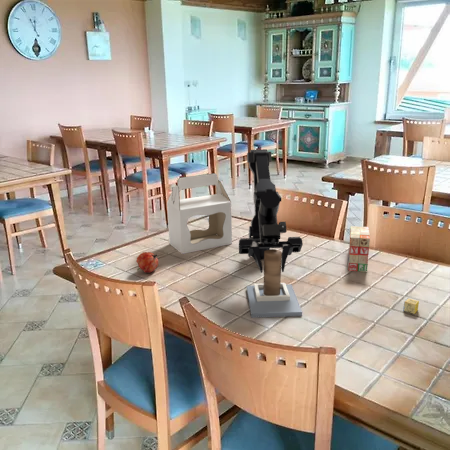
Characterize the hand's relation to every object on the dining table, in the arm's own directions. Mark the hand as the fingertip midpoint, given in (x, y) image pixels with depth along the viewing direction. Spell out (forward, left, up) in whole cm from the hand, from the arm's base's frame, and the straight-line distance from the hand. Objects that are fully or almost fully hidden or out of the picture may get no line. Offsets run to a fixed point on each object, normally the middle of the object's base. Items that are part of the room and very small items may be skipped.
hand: (272, 271), depth 134 cm
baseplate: (+1, +1, -9) cm, 9 cm away
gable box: (-8, -55, -9) cm, 56 cm away
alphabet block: (-27, +28, -9) cm, 40 cm away
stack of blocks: (-44, -6, -9) cm, 46 cm away
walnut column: (-1, -1, -7) cm, 8 cm away
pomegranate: (+21, -42, -9) cm, 48 cm away
